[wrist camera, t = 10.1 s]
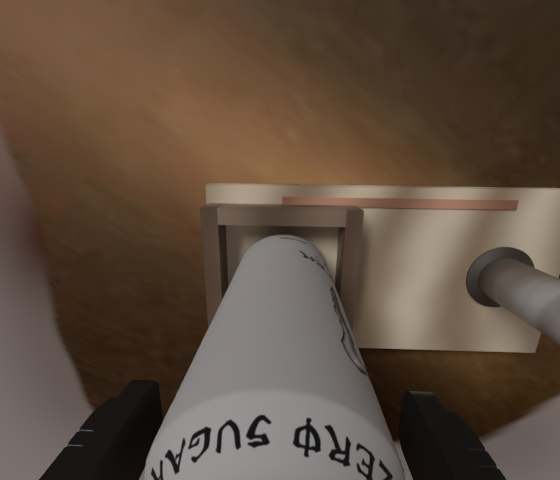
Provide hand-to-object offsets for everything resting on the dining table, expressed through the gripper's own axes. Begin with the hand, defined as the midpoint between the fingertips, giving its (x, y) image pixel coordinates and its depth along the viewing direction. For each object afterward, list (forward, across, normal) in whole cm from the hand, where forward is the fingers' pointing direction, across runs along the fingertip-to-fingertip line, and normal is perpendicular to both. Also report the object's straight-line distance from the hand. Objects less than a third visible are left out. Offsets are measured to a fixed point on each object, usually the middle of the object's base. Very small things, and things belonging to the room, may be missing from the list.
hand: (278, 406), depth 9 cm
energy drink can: (+11, 0, 0) cm, 11 cm away
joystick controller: (+12, -7, 0) cm, 14 cm away
